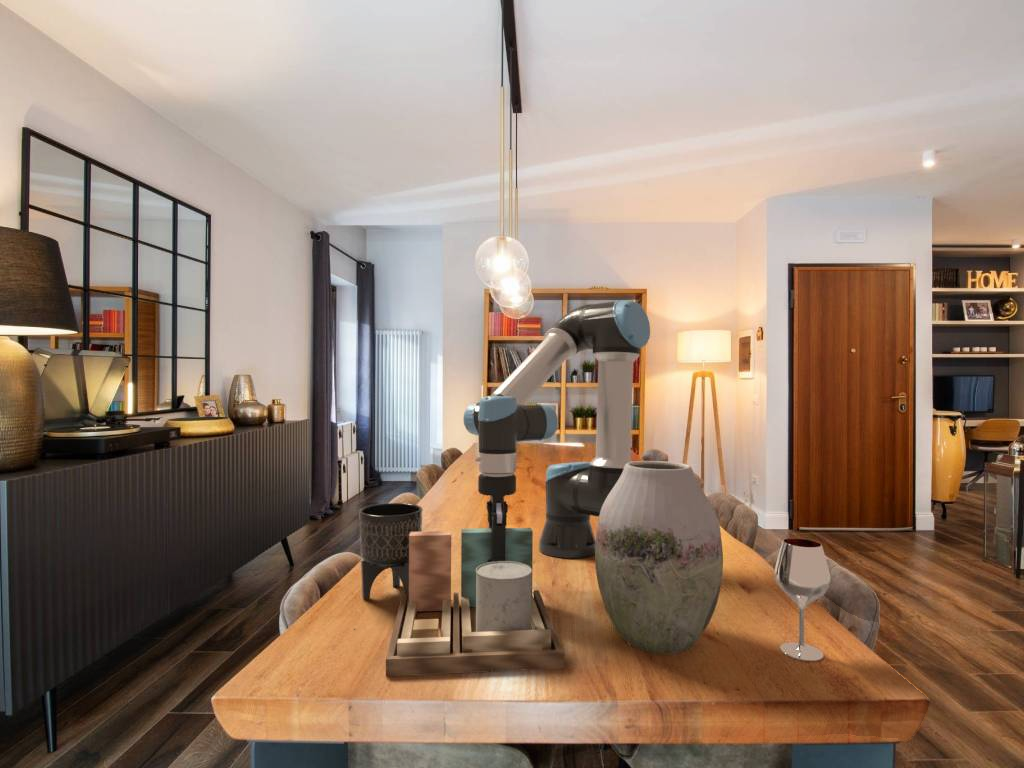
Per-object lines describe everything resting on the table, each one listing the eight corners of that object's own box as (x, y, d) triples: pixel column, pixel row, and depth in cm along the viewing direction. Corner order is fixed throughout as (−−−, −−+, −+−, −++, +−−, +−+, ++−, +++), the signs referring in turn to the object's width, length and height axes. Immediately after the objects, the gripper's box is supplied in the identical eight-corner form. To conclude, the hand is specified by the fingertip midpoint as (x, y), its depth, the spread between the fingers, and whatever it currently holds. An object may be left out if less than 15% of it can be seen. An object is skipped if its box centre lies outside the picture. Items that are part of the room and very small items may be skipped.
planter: (366, 611, 111) (367, 518, 111) (352, 589, 123) (352, 506, 123) (430, 599, 117) (431, 512, 117) (411, 580, 129) (411, 500, 129)
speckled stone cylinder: (538, 634, 101) (538, 564, 101) (521, 659, 92) (521, 581, 92) (487, 626, 104) (487, 558, 104) (466, 649, 95) (466, 575, 95)
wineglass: (764, 642, 99) (765, 536, 99) (810, 640, 99) (810, 535, 99) (791, 665, 91) (792, 550, 91) (841, 663, 91) (841, 549, 91)
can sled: (530, 599, 117) (530, 527, 117) (550, 658, 92) (551, 567, 92) (460, 601, 116) (461, 529, 116) (462, 662, 91) (463, 569, 91)
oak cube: (438, 642, 98) (438, 618, 98) (437, 653, 94) (437, 628, 94) (414, 643, 98) (414, 619, 98) (412, 654, 94) (412, 629, 94)
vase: (750, 658, 93) (751, 471, 93) (631, 677, 87) (632, 476, 87) (676, 609, 113) (677, 455, 113) (575, 621, 107) (576, 459, 107)
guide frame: (538, 602, 116) (538, 590, 116) (563, 668, 89) (563, 652, 89) (402, 607, 113) (402, 594, 113) (385, 676, 86) (385, 659, 86)
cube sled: (450, 604, 114) (451, 531, 114) (449, 667, 89) (450, 572, 89) (409, 605, 113) (410, 531, 113) (396, 669, 88) (397, 574, 88)
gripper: (476, 467, 123) (475, 578, 123) (480, 480, 107) (479, 607, 107) (511, 467, 124) (511, 577, 124) (520, 479, 108) (519, 606, 107)
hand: (496, 591), depth 115 cm, fingers closed on can sled, 3 cm apart
